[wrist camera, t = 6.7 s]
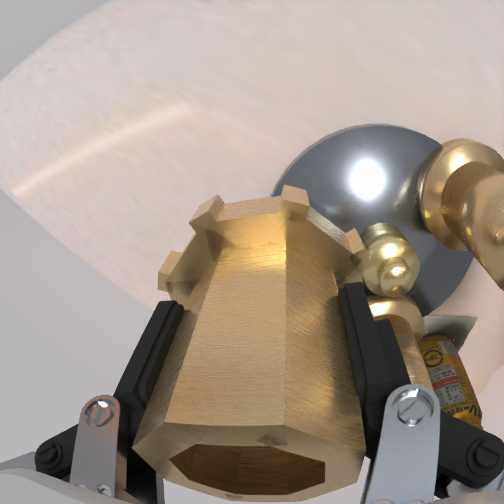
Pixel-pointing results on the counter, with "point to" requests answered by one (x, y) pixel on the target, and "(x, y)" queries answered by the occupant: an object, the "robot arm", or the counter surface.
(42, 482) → the robot arm
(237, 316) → the gold hollow octagonal piece
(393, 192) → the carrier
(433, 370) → the condiment
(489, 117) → the counter surface
